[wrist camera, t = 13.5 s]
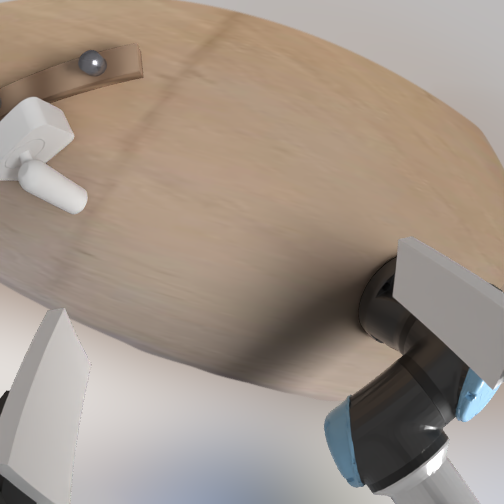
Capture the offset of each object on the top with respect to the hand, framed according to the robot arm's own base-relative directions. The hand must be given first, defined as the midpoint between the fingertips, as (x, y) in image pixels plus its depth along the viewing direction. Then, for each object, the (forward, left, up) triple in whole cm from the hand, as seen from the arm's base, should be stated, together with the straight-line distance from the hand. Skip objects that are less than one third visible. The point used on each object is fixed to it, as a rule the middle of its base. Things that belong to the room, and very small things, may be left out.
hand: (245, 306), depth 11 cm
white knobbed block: (+6, +15, -25) cm, 30 cm away
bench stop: (+14, +14, -25) cm, 32 cm away
